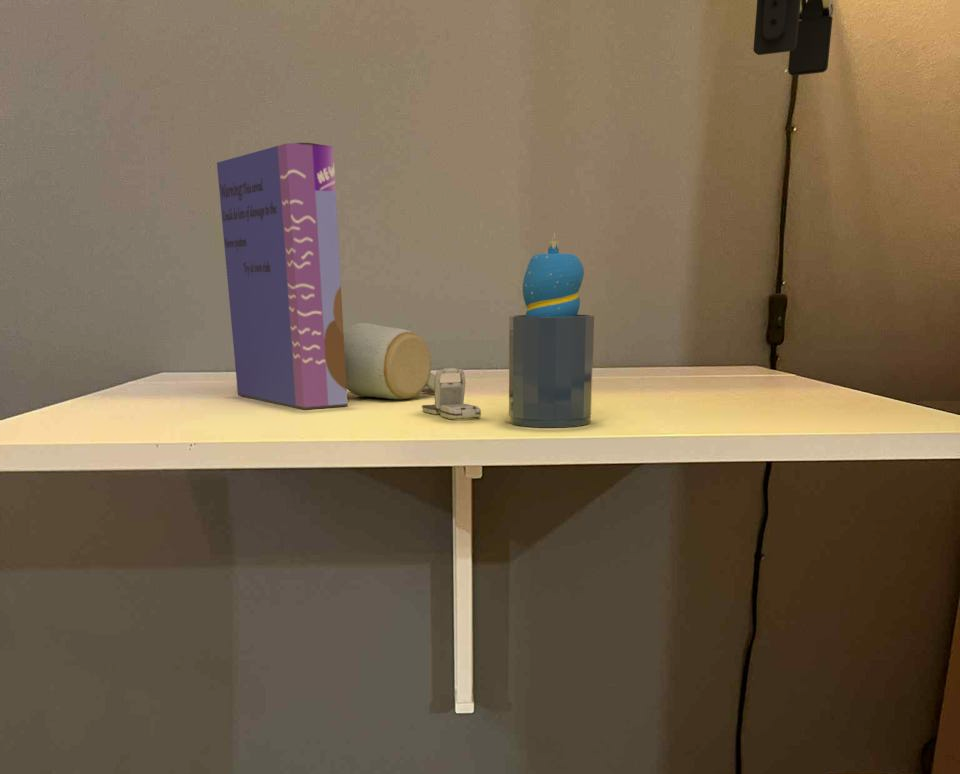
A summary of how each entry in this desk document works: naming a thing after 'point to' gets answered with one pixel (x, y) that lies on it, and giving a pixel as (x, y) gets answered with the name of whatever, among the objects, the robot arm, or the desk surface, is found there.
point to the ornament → (553, 284)
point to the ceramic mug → (386, 362)
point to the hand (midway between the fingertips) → (791, 63)
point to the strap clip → (451, 398)
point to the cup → (550, 370)
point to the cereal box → (284, 275)
